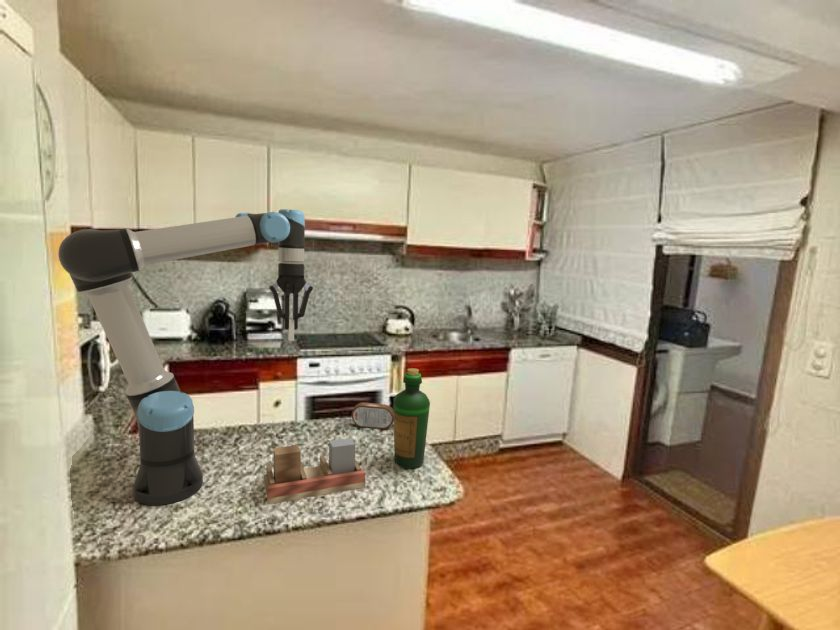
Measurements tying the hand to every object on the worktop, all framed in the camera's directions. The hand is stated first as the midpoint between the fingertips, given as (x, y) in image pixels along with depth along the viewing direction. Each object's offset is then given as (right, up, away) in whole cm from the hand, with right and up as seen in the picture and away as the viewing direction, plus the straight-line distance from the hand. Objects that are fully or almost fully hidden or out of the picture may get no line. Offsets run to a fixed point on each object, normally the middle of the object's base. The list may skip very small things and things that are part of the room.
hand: (290, 339), depth 138 cm
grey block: (+19, -35, -19) cm, 44 cm away
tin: (+23, -32, +18) cm, 43 cm away
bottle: (+36, -36, -7) cm, 51 cm away
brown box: (+6, -35, -25) cm, 43 cm away
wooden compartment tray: (+12, -36, -21) cm, 44 cm away
